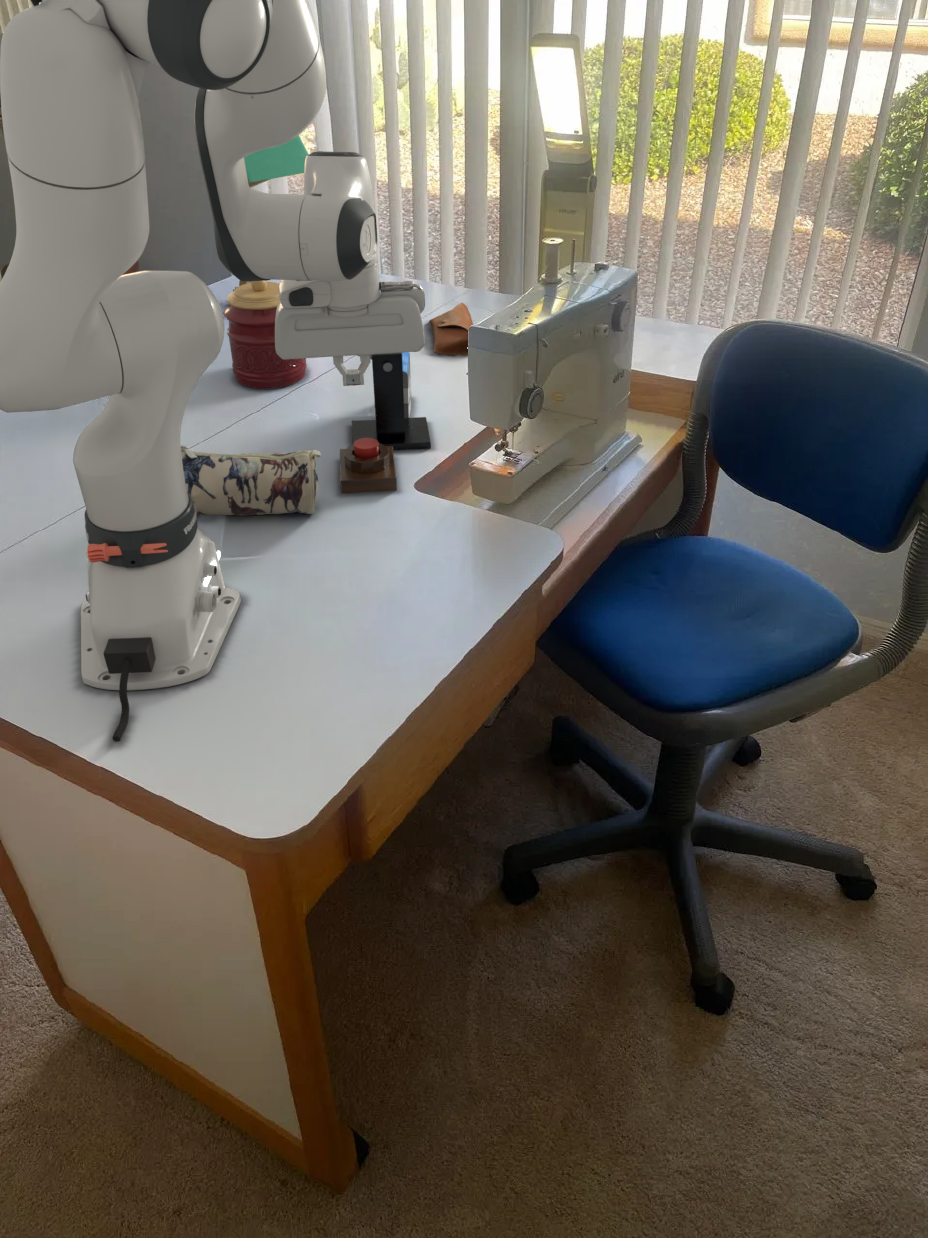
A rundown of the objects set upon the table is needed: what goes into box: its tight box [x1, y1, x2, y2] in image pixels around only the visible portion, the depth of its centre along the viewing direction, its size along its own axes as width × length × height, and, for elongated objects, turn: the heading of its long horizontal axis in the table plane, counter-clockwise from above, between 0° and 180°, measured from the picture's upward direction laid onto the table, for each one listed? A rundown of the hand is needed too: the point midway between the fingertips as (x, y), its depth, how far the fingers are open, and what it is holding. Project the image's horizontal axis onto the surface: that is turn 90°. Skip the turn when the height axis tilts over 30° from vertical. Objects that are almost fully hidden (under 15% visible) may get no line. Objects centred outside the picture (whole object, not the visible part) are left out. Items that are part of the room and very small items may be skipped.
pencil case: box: [181, 444, 322, 516], centre depth 133 cm, size 22×8×10 cm, turn 90°
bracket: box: [351, 353, 432, 452], centre depth 149 cm, size 12×9×15 cm
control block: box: [339, 443, 398, 495], centre depth 143 cm, size 10×8×4 cm
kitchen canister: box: [223, 280, 308, 390], centre depth 168 cm, size 13×13×18 cm
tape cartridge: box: [402, 352, 412, 418], centre depth 158 cm, size 9×4×12 cm, turn 0°
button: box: [354, 438, 379, 459], centre depth 141 cm, size 4×4×2 cm
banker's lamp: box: [228, 134, 310, 306], centre depth 187 cm, size 16×21×35 cm
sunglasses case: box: [428, 302, 474, 356], centre depth 187 cm, size 18×7×7 cm
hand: (353, 383), depth 135 cm, fingers closed
